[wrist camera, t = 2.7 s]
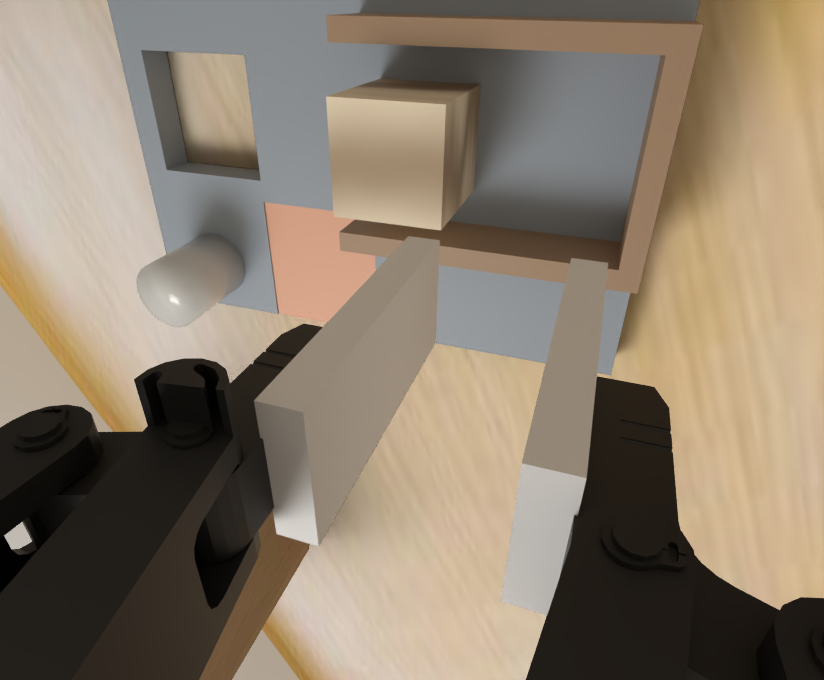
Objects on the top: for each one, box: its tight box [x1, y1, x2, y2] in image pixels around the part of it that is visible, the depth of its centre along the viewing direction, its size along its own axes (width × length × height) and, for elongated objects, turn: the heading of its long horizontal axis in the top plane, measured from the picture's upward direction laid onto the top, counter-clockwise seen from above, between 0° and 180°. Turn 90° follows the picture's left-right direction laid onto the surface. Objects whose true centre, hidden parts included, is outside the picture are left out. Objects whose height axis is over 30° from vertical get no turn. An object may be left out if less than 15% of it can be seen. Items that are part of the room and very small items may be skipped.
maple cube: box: [326, 79, 481, 230], centre depth 26 cm, size 5×5×6 cm
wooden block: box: [199, 510, 310, 680], centre depth 45 cm, size 10×10×20 cm
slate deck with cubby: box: [107, 0, 703, 375], centre depth 30 cm, size 20×29×6 cm
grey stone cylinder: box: [137, 234, 245, 327], centre depth 35 cm, size 4×4×5 cm
